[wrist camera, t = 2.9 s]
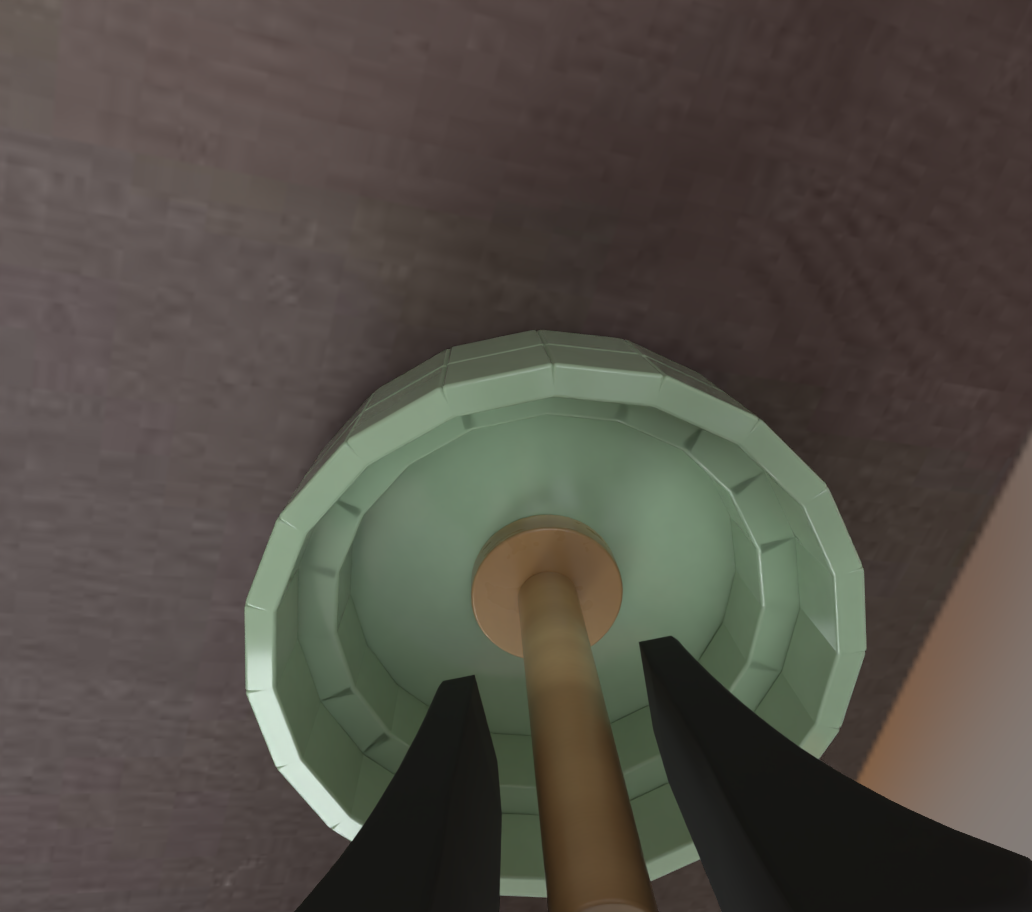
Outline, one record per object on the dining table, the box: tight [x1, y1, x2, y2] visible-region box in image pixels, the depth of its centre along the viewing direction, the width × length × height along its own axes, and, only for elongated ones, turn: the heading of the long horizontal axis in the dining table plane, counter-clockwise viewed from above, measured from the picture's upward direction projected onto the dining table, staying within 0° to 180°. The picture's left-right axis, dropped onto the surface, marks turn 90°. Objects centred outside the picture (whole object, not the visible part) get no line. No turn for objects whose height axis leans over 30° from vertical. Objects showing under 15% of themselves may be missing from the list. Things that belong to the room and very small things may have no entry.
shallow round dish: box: [244, 330, 866, 897], centre depth 16 cm, size 12×12×4 cm
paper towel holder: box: [471, 515, 658, 912], centre depth 13 cm, size 4×4×9 cm
